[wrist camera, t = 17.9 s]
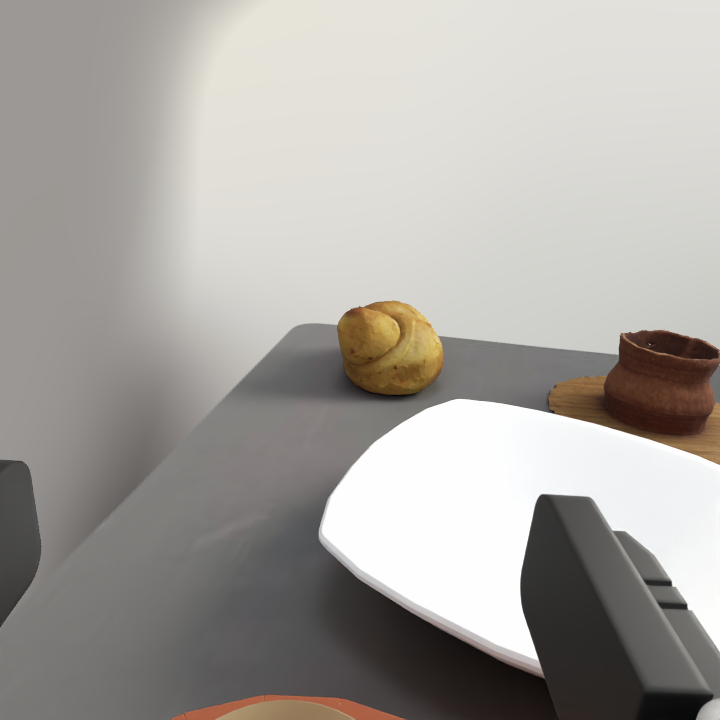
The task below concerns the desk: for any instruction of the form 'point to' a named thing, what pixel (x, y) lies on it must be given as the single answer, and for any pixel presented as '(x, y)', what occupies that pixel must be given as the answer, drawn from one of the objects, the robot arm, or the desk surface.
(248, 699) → the clay bowl
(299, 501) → the desk surface
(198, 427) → the desk surface
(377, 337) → the bread roll
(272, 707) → the tan cylinder
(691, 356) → the ceramic pot
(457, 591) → the bowl
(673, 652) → the robot arm
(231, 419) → the desk surface
